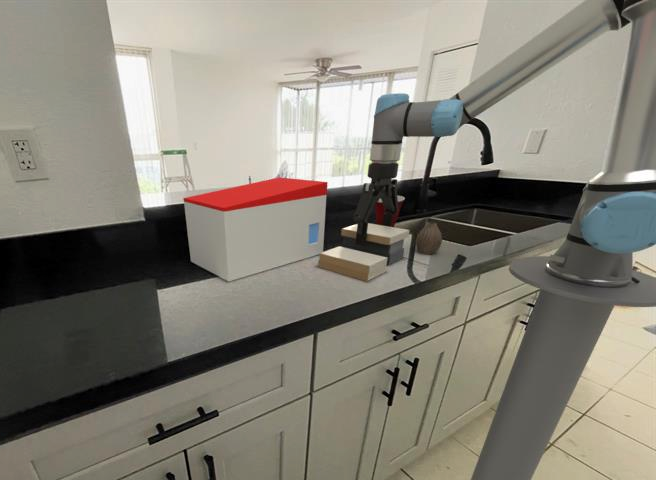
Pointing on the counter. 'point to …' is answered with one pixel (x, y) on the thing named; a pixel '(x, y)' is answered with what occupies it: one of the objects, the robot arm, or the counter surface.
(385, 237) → the beige flat rectangular block
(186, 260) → the counter surface
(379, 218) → the plastic cup
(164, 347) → the counter surface
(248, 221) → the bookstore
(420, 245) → the vase
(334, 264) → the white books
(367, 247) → the grey books
